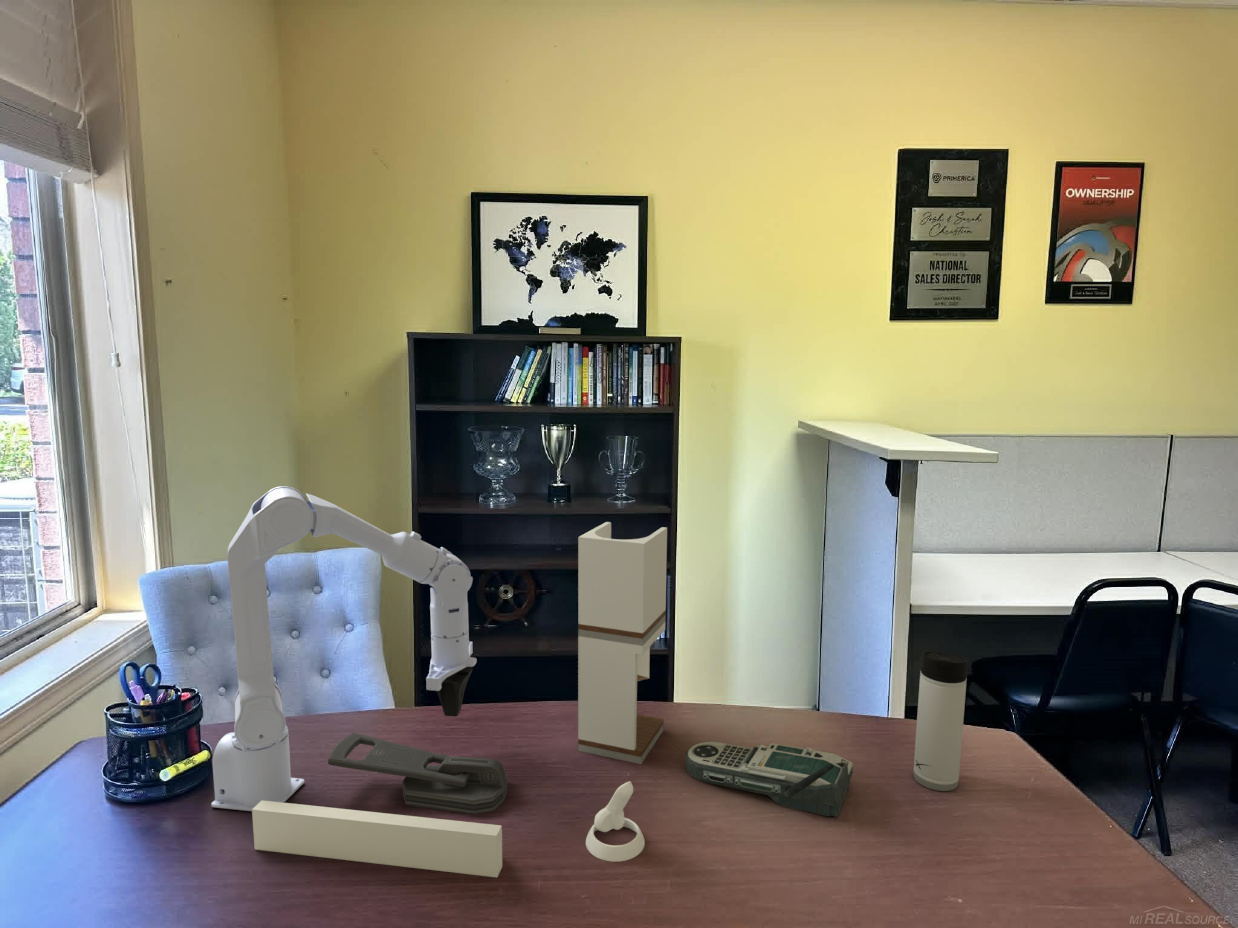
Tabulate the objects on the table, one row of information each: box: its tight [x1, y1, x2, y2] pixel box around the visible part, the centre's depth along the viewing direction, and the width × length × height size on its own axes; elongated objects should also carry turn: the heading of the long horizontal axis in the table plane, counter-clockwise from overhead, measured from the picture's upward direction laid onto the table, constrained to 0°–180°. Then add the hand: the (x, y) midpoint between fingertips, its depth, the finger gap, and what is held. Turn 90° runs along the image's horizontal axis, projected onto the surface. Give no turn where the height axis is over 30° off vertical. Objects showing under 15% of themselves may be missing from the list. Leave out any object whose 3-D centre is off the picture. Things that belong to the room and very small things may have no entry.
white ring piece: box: [585, 781, 645, 862], centre depth 96 cm, size 8×12×7 cm
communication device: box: [684, 741, 854, 818], centre depth 112 cm, size 12×24×9 cm, turn 63°
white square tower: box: [577, 521, 668, 765], centre depth 122 cm, size 11×11×35 cm
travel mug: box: [912, 650, 968, 792], centre depth 112 cm, size 6×7×20 cm
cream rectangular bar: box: [251, 800, 503, 878], centre depth 95 cm, size 32×4×6 cm, turn 81°
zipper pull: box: [327, 732, 508, 816], centre depth 109 cm, size 9×7×25 cm
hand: (452, 714), depth 119 cm, fingers closed
